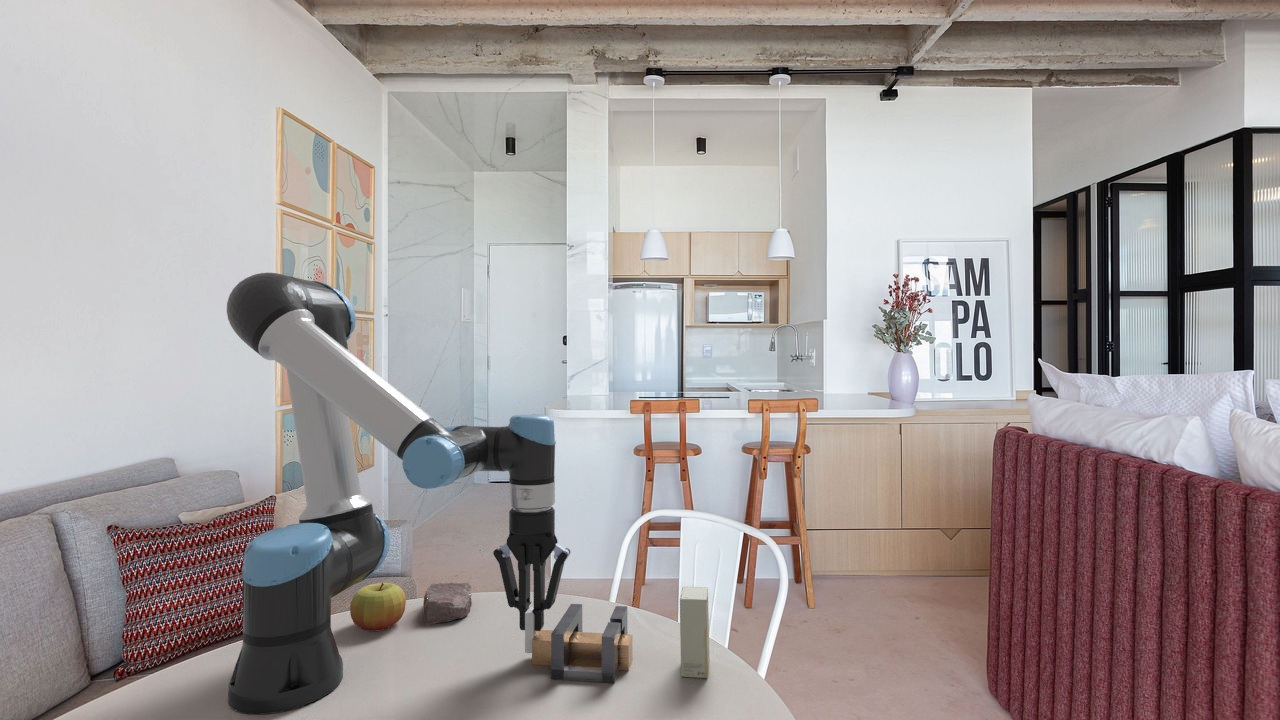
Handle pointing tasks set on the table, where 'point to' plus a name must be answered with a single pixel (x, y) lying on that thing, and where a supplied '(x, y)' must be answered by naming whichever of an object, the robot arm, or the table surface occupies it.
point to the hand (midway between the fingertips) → (531, 649)
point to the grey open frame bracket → (609, 647)
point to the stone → (446, 602)
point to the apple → (377, 606)
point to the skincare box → (694, 632)
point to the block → (581, 649)
